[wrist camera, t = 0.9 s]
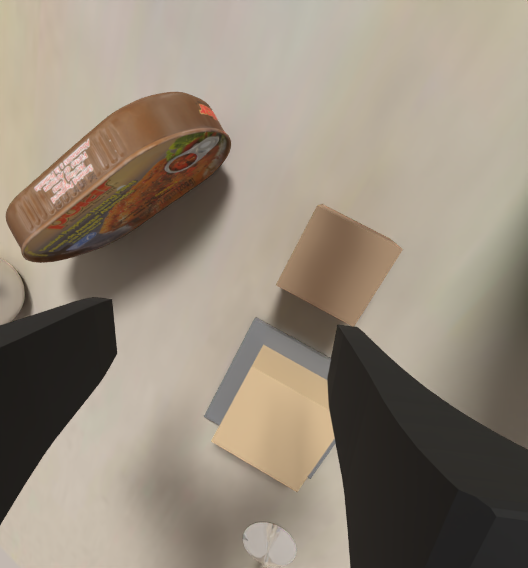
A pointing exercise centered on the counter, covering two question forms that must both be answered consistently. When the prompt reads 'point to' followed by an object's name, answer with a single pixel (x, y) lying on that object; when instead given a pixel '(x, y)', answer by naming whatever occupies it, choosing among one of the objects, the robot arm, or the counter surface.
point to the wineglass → (269, 544)
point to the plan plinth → (275, 406)
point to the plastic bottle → (10, 292)
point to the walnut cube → (338, 264)
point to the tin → (118, 176)
